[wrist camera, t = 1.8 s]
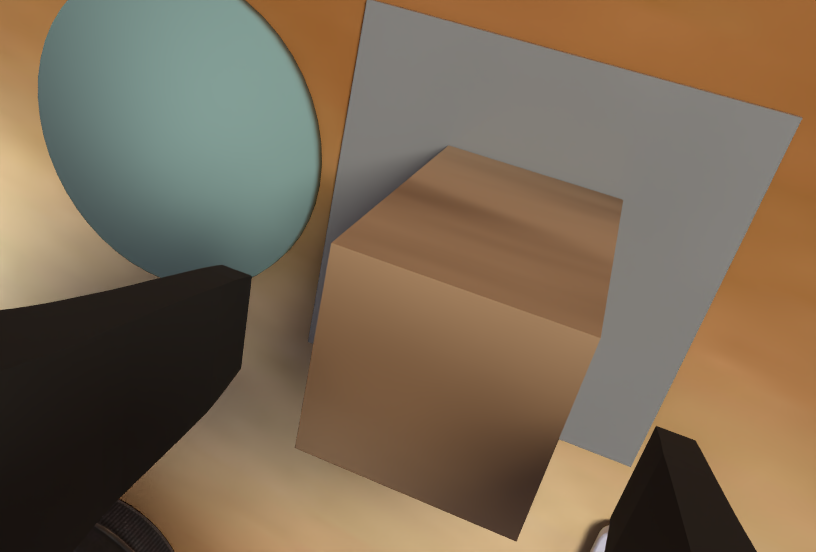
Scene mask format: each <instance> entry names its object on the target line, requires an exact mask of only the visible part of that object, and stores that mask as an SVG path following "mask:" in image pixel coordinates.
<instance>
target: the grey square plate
mask: <svg viewBox="0 0 816 552" xmlns="http://www.w3.org/2000/svg"><path fill="white" fill-rule="evenodd" d="M801 120H802V117H800V116H797V115H793V114H789V113H786V112H782V111H778V110H775V109H771V108H767V107H764V106H760V105H756V104H753V103H749V102H746V101H742V100H738V99H735V98H731V97H727V96H724V95H720V94H716V93H713V92H709V91H705V90H702V89H698V88H694V87H691V86H687V85H683V84H680V83H676V82H672V81H669V80H665V79H661V78H658V77H654V76H650V75H647V74H643V73H640V72H636V71H632V70H629V69H625V68H621V67H618V66H614V65H610V64H607V63H603V62H599V61H596V60H592V59H588V58H585V57H581V56H577V55H574V54H570V53H566V52H563V51H559V50H555V49H552V48H548V47H544V46H541V45H537V44H534V43H530V42H526V41H523V40H519V39H515V38H512V37H508V36H504V35H501V34H497V33H493V32H490V31H486V30H482V29H479V28H475V27H471V26H468V25H464V24H460V23H457V22H453V21H449V20H446V19H442V18H438V17H435V16H431V15H428V14H424V13H420V12H417V11H413V10H409V9H406V8H402V7H398V6H395V5H391V4H387V3H384V2H380V1H376V0H367V3H366V9H365V14H364V20H363V26H362V32H361V37H360V43H359V49H358V55H357V61H356V66H355V72H354V78H353V84H352V90H351V95H350V101H349V107H348V113H347V119H346V124H345V130H344V136H343V142H342V147H341V153H340V159H339V165H338V171H337V176H336V182H335V188H334V194H333V200H332V205H331V211H330V217H329V223H328V229H327V234H326V240H325V246H324V252H323V258H322V263H321V269H320V275H319V281H318V286H317V292H316V298H315V304H314V310H313V315H312V321H311V327H310V333H309V339H308V342H310V343H312V344H313V343H314V337H315V332H316V326H317V321H318V315H319V309H320V304H321V298H322V292H323V287H324V281H325V275H326V270H327V264H328V259H329V253H330V247H331V243H332V242H333V241H334V240H335V239H337V238H338V237H339V236H340V235H341V234H343V233H344V232H345V231H346V230H347V229H349V228H350V227H351V226H352V225H353V224H355V223H356V222H357V221H358V220H359V219H361V218H362V217H363V216H364V215H365V214H367V213H368V212H369V211H370V210H371V209H373V208H374V207H375V206H376V205H378V204H379V203H380V202H381V201H382V200H384V199H385V198H386V197H387V196H388V195H390V194H391V193H392V192H393V191H394V190H396V189H397V188H398V187H399V186H400V185H402V184H403V183H404V182H405V181H406V180H408V179H409V178H410V177H411V176H412V175H414V174H415V173H416V172H417V171H418V170H420V169H421V168H422V167H423V166H425V165H426V164H427V163H428V162H429V161H431V160H432V159H433V158H434V157H435V156H437V155H438V154H439V153H440V152H441V151H443V150H444V149H445V148H446V147H447V146H452V147H455V148H459V149H462V150H465V151H468V152H471V153H475V154H478V155H481V156H484V157H488V158H491V159H494V160H497V161H500V162H504V163H507V164H510V165H513V166H516V167H520V168H523V169H526V170H529V171H532V172H536V173H539V174H542V175H545V176H548V177H552V178H555V179H558V180H561V181H565V182H568V183H571V184H574V185H577V186H581V187H584V188H587V189H590V190H593V191H597V192H600V193H603V194H606V195H609V196H613V197H616V198H619V199H622V200H623V204H622V211H621V217H620V223H619V229H618V235H617V241H616V247H615V253H614V259H613V266H612V272H611V278H610V284H609V290H608V296H607V302H606V308H605V315H604V321H603V327H602V333H601V338H600V341H599V343H598V346H597V348H596V351H595V353H594V355H593V358H592V360H591V363H590V365H589V367H588V370H587V372H586V375H585V377H584V380H583V382H582V384H581V387H580V389H579V392H578V394H577V396H576V399H575V401H574V404H573V406H572V408H571V411H570V413H569V416H568V418H567V421H566V423H565V425H564V428H563V430H562V433H561V435H560V437H559V439H560V440H562V441H565V442H568V443H570V444H573V445H575V446H578V447H580V448H583V449H586V450H588V451H591V452H593V453H596V454H599V455H601V456H604V457H606V458H609V459H611V460H614V461H617V462H619V463H622V464H624V465H627V466H629V467H631V466H632V464H633V461H634V459H635V457H636V455H637V453H638V451H639V449H640V447H641V445H642V443H643V441H644V439H645V437H646V435H647V433H648V431H649V429H650V427H651V425H652V423H653V421H654V419H655V417H656V415H657V413H658V411H659V409H660V407H661V405H662V402H663V400H664V398H665V396H666V394H667V392H668V390H669V388H670V386H671V384H672V382H673V380H674V378H675V376H676V374H677V372H678V370H679V368H680V366H681V364H682V362H683V360H684V358H685V356H686V354H687V352H688V350H689V348H690V346H691V343H692V341H693V339H694V337H695V335H696V333H697V331H698V329H699V327H700V325H701V323H702V321H703V319H704V317H705V315H706V313H707V311H708V309H709V307H710V305H711V303H712V301H713V299H714V297H715V295H716V293H717V291H718V289H719V287H720V284H721V282H722V280H723V278H724V276H725V274H726V272H727V270H728V268H729V266H730V264H731V262H732V260H733V258H734V256H735V254H736V252H737V250H738V248H739V246H740V244H741V242H742V240H743V238H744V236H745V234H746V232H747V230H748V228H749V226H750V223H751V221H752V219H753V217H754V215H755V213H756V211H757V209H758V207H759V205H760V203H761V201H762V199H763V197H764V195H765V193H766V191H767V189H768V187H769V185H770V183H771V181H772V179H773V177H774V175H775V173H776V171H777V169H778V167H779V164H780V162H781V160H782V158H783V156H784V154H785V152H786V150H787V148H788V146H789V144H790V142H791V140H792V138H793V136H794V134H795V132H796V130H797V128H798V126H799V124H800V122H801Z"/></svg>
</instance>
